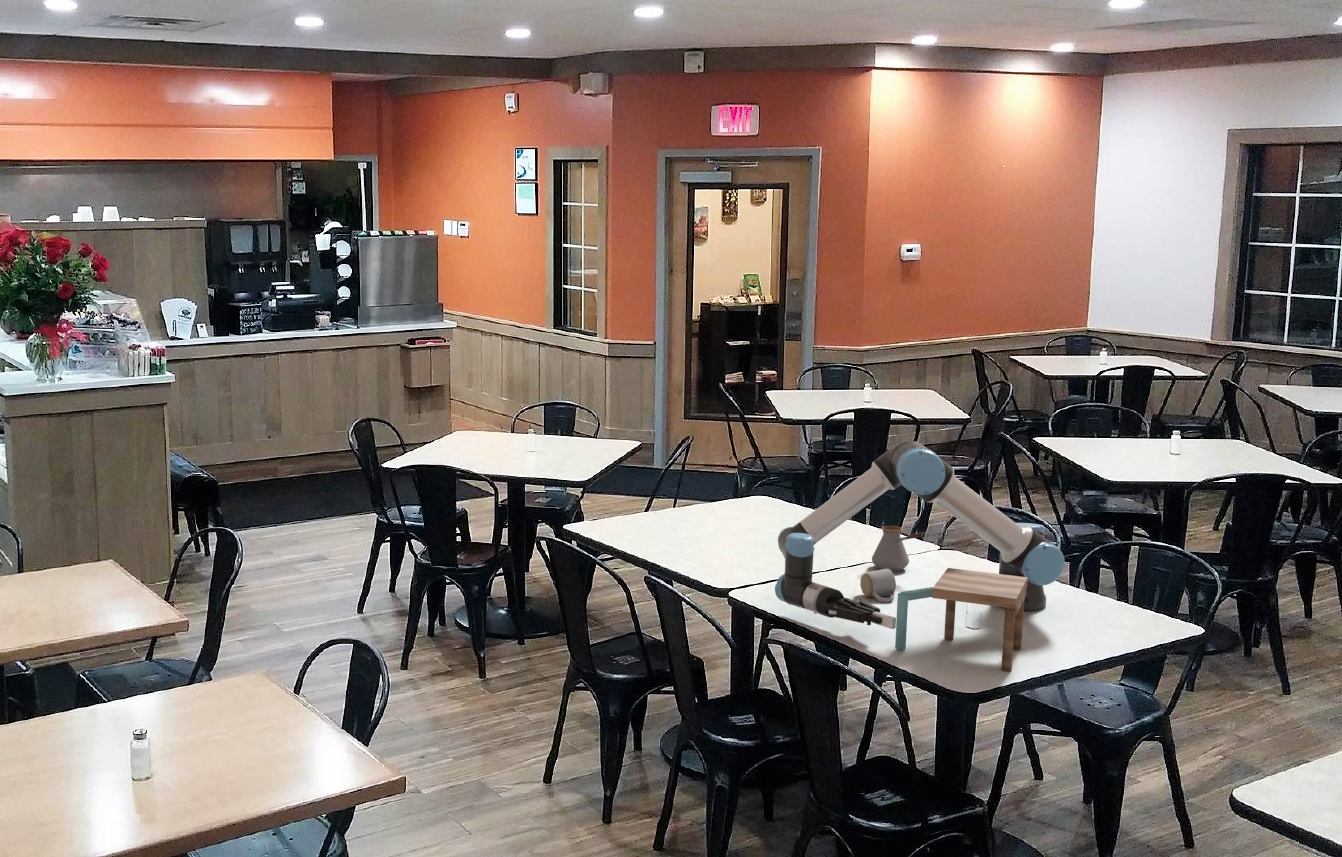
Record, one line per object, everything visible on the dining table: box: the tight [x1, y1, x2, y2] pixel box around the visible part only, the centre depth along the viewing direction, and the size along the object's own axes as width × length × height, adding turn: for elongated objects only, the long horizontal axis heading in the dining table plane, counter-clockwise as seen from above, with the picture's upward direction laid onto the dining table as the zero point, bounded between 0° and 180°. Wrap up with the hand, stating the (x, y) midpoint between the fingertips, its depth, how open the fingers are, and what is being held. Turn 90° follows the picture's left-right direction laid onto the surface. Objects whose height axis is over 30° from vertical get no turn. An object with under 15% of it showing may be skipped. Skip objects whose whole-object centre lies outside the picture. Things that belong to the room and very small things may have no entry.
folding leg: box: [894, 586, 934, 651], centre depth 328 cm, size 16×3×15 cm, turn 118°
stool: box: [931, 567, 1028, 673], centre depth 323 cm, size 20×20×18 cm
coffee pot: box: [871, 525, 929, 573], centre depth 395 cm, size 21×12×15 cm, turn 30°
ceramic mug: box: [859, 569, 897, 603], centre depth 370 cm, size 11×8×8 cm
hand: (894, 623), depth 325 cm, fingers closed
